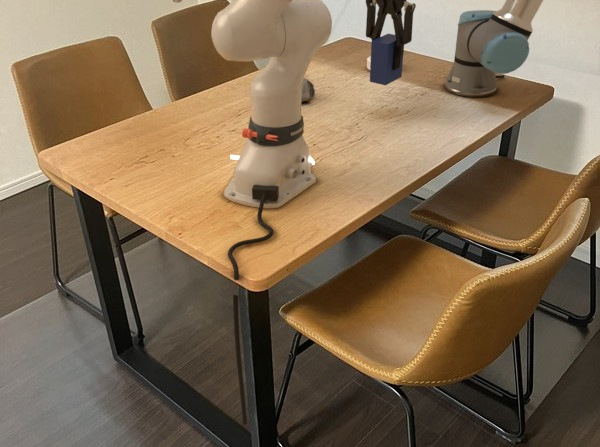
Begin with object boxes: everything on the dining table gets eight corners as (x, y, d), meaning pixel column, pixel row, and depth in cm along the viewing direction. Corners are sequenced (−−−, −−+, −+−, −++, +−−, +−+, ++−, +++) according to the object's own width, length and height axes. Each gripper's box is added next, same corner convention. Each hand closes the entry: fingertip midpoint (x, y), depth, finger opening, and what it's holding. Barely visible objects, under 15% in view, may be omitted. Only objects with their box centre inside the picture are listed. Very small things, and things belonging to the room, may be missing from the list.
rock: (319, 98, 184) (319, 74, 180) (294, 107, 178) (293, 83, 175) (285, 87, 193) (284, 64, 190) (261, 95, 187) (259, 72, 184)
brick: (401, 76, 171) (404, 36, 165) (385, 85, 165) (388, 44, 159) (385, 73, 173) (388, 33, 167) (369, 81, 168) (371, 40, 162)
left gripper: (197, -60, 142) (203, 2, 150) (140, -67, 153) (148, -9, 160) (176, -57, 138) (183, 7, 145) (119, -64, 149) (128, -4, 156)
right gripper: (431, -24, 153) (423, 69, 165) (369, -31, 162) (365, 57, 175) (416, -18, 148) (409, 76, 160) (353, -26, 157) (350, 64, 170)
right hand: (386, 66), depth 167 cm, fingers closed on brick, 5 cm apart
